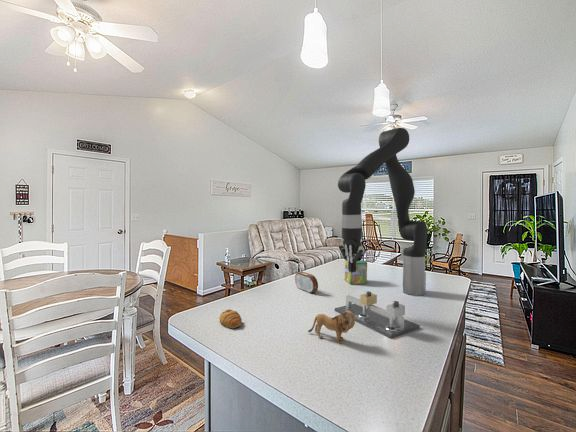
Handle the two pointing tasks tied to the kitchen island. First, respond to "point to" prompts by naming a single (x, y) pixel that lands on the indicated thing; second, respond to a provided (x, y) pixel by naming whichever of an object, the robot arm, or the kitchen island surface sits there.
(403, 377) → the kitchen island surface
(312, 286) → the tin
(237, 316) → the pastry
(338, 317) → the lion figurine
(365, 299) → the block
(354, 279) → the chalk box
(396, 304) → the divider frame
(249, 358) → the kitchen island surface
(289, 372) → the kitchen island surface
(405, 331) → the bolt plate
